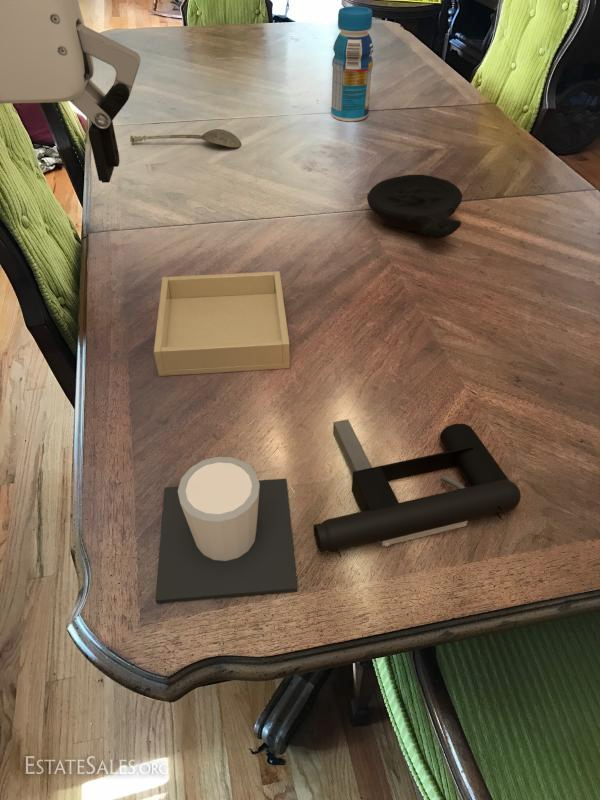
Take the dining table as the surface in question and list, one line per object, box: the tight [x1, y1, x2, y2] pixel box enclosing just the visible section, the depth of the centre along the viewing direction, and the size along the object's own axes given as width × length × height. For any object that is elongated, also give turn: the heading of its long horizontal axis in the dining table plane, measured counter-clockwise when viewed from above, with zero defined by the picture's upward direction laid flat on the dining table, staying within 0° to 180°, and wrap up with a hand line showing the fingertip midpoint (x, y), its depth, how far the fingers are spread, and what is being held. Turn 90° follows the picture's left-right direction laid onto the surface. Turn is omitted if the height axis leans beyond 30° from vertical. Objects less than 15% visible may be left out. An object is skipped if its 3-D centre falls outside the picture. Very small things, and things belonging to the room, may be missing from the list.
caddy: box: [153, 270, 291, 377], centre depth 78 cm, size 16×16×4 cm
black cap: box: [366, 174, 463, 240], centre depth 97 cm, size 15×20×5 cm
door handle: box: [313, 418, 522, 558], centre depth 61 cm, size 3×20×16 cm
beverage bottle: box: [330, 5, 374, 122], centre depth 128 cm, size 8×8×20 cm
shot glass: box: [178, 456, 260, 561], centre depth 54 cm, size 7×7×7 cm
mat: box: [155, 478, 298, 604], centre depth 57 cm, size 12×12×1 cm
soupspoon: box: [129, 128, 242, 148], centre depth 122 cm, size 22×3×7 cm
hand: (44, 176), depth 47 cm, fingers open, 9 cm apart
